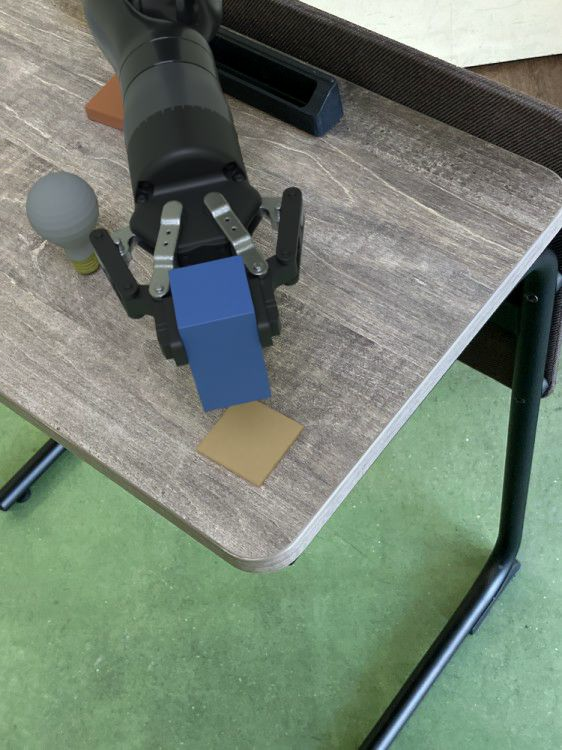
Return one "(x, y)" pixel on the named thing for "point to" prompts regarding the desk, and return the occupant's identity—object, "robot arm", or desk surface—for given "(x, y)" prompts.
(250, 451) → the mat
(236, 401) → the block
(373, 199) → the desk surface
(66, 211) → the light bulb
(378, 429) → the desk surface
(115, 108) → the orange-brown square slab
